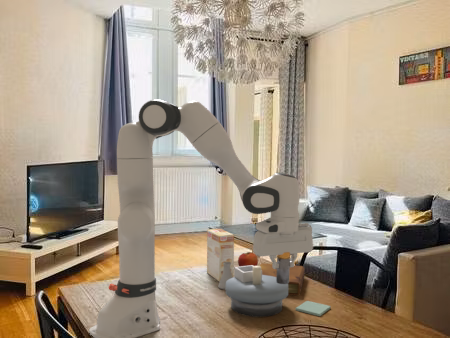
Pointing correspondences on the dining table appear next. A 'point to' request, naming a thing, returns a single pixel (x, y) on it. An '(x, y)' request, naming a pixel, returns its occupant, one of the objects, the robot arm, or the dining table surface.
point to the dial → (254, 286)
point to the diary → (294, 277)
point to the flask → (225, 275)
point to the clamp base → (256, 308)
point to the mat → (313, 308)
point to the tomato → (247, 259)
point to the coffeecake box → (219, 252)
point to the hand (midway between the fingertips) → (283, 267)
